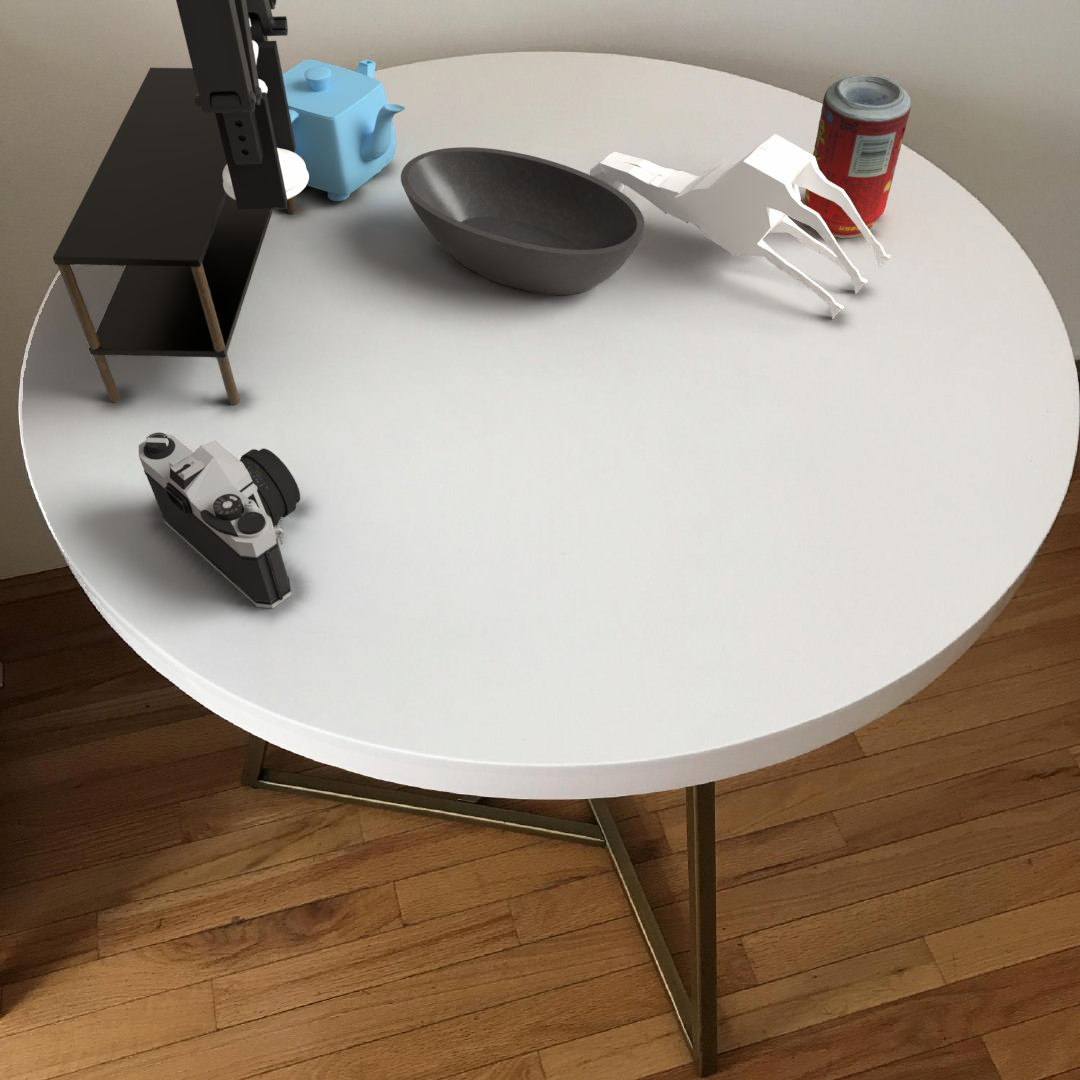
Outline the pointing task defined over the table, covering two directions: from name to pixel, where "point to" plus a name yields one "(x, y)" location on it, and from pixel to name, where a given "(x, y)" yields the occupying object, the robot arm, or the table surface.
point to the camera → (226, 509)
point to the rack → (165, 234)
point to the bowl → (523, 218)
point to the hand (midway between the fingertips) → (267, 176)
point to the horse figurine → (747, 203)
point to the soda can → (859, 148)
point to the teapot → (340, 124)
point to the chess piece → (289, 161)
